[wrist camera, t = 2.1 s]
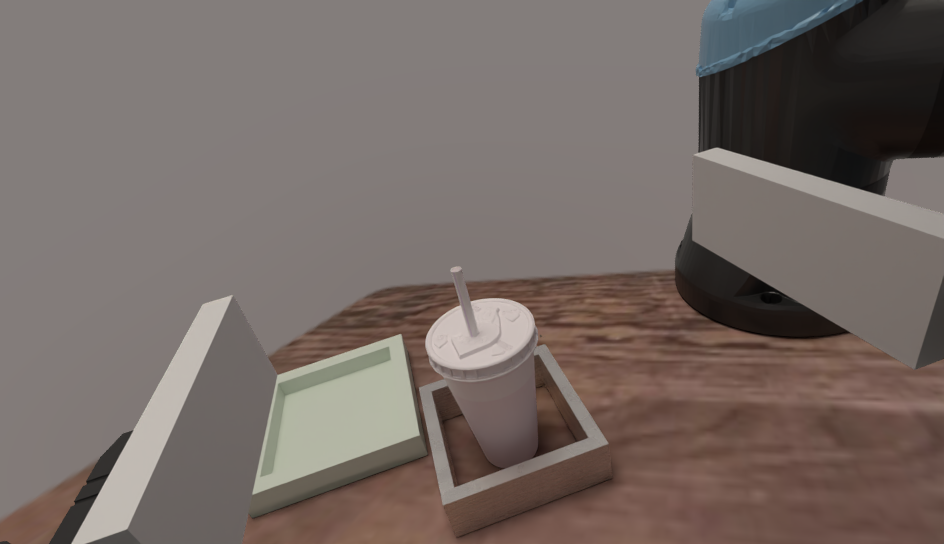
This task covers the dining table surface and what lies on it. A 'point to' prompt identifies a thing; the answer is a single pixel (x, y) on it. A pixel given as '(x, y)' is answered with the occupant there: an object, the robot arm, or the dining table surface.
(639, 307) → the dining table surface
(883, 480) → the dining table surface
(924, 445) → the dining table surface
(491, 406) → the smoothie
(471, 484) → the square frame
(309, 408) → the tray
